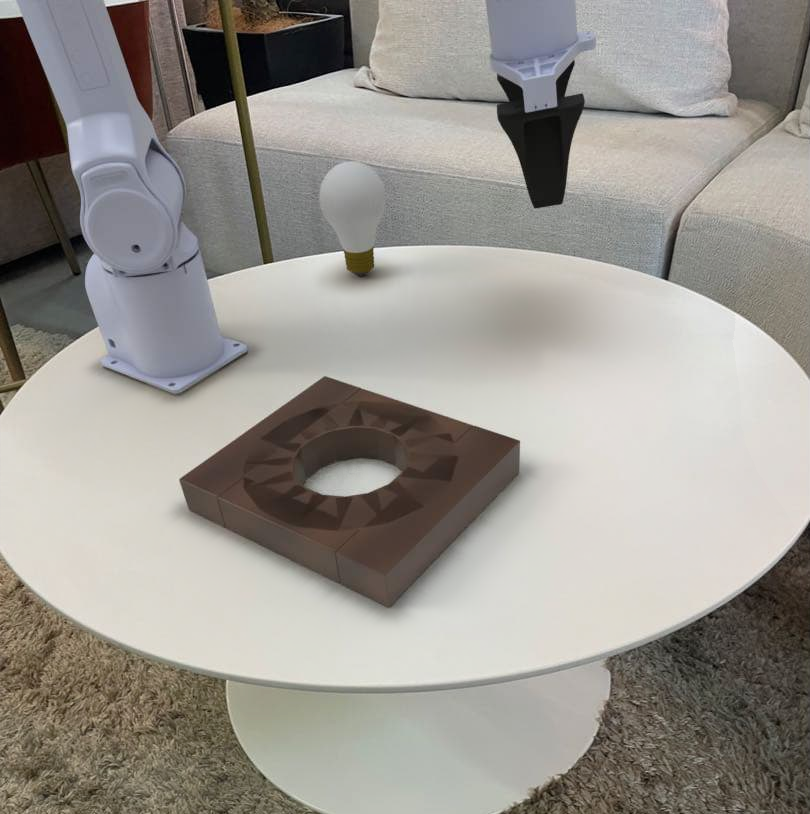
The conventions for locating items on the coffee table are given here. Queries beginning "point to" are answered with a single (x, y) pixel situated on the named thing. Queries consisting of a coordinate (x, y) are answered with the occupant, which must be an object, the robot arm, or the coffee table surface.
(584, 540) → the coffee table surface
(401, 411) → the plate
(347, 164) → the light bulb
